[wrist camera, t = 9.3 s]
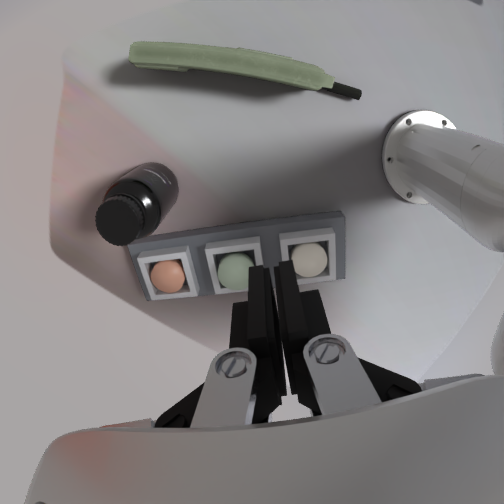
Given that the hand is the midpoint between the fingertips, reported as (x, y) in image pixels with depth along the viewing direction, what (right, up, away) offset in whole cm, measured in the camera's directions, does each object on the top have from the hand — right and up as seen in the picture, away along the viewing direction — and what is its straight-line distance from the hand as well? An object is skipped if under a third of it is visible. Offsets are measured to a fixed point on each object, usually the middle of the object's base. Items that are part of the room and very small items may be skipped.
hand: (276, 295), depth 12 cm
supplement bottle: (-13, +10, +26) cm, 31 cm away
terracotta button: (-12, -1, +29) cm, 31 cm away
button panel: (-3, +1, +30) cm, 31 cm away
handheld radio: (-1, +23, +20) cm, 30 cm away
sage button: (-3, 0, +28) cm, 28 cm away
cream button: (+6, +1, +28) cm, 29 cm away
